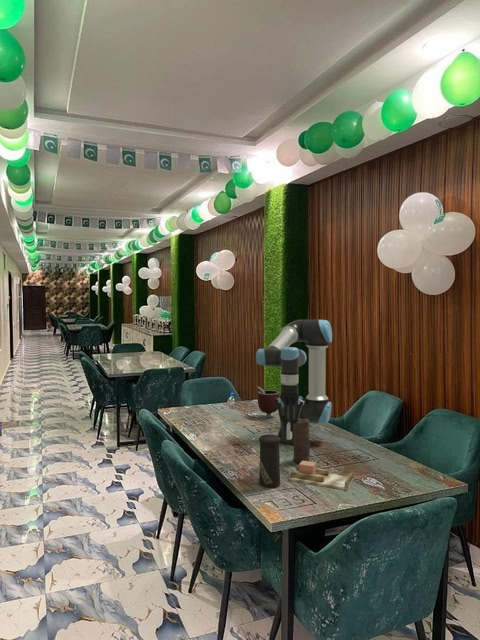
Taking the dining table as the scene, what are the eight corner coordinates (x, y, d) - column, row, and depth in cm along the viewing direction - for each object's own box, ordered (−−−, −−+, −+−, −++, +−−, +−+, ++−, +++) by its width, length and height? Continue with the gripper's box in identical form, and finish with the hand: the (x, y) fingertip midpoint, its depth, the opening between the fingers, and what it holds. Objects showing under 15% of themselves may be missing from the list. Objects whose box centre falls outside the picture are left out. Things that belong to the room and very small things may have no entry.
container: (257, 480, 192) (257, 433, 191) (278, 479, 193) (278, 432, 192) (260, 489, 184) (260, 439, 183) (282, 488, 184) (282, 438, 183)
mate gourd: (283, 418, 293) (283, 386, 292) (273, 423, 282) (273, 390, 281) (262, 414, 302) (262, 384, 301) (251, 419, 290) (251, 388, 289)
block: (298, 475, 194) (298, 464, 194) (302, 471, 198) (302, 460, 198) (312, 478, 191) (312, 466, 191) (316, 474, 196) (316, 462, 196)
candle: (305, 466, 209) (305, 422, 208) (290, 463, 212) (290, 420, 212) (312, 461, 215) (312, 418, 214) (297, 458, 219) (297, 416, 218)
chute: (289, 480, 192) (289, 473, 192) (298, 470, 203) (298, 464, 203) (347, 490, 182) (347, 482, 182) (353, 479, 193) (353, 472, 193)
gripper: (272, 384, 196) (271, 439, 197) (301, 386, 190) (301, 443, 191) (278, 381, 203) (278, 434, 203) (306, 383, 197) (306, 438, 198)
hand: (289, 438), depth 197 cm, fingers closed
